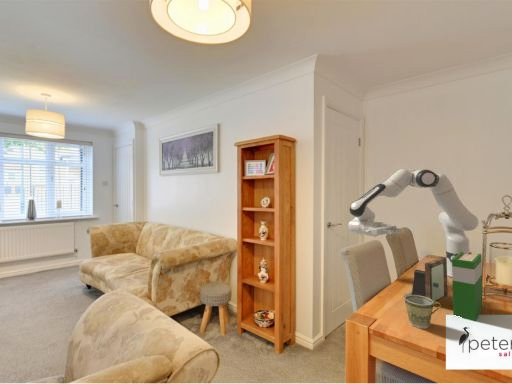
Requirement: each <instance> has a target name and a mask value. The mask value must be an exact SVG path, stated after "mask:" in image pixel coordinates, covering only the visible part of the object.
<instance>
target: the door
mask: <svg viewBox="0 0 512 384" xmlns="http://www.w3.org/2000/svg"><path fill="white" fill-rule="evenodd" d="M443 297H445V296H444V275H443V263H442V264H440V265H437V266H435V267H433V268H432V300H433V302H435V301H436V302H437V300H439V299H441V298H443Z"/></svg>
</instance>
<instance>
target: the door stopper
mask: <svg viewBox="0 0 512 384" xmlns="http://www.w3.org/2000/svg"><path fill="white" fill-rule="evenodd" d="M412 284H413V285H412V287H411V288H412V290H411V292H412V295H419V296H424V297H426V292H425V270H421V269H414V271H413V282H412Z"/></svg>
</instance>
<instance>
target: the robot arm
mask: <svg viewBox="0 0 512 384" xmlns="http://www.w3.org/2000/svg"><path fill="white" fill-rule="evenodd" d="M408 186H411V187H415V188H421V189H423V188H424V189H425V188H429V189H430V191H431V193H432V195H433V197H434V199H435V202H436V203H437V206H438V207H439V208H440V209H442V210H443V211H442V212H440V213H439V215H438V217H437V218H438V219H437V220H438V222H439V224H440V225H441V226H442V228H443V231H444V236H445V241H446V243H445V244H446V251H445V257H447V277H450V278H452V259H453V258H454V257H455V256H456V255H458V254H459V253H460V252H463V254H471V255H472V252H471V251H470V239H469V237H467V235H466V234H465V232H468V231H473V230H476V228H477V227H478V226H479V218H478V217H477V216H476V215H475V214H473V213H472V212H471V211H470V210H469V209H468V208H467V207H466V205H465V204H463V202H462V201H461V199H460V197H459V196H458V194H457V191H456V190H455V188H454V186H453V184H452V182H451V180H450V179H449V178H448V177H447V175H446V174H444V173H435V172H434V171H433V170H430V169H416V170H412V171H410V170H408V169H405V168H401V169H399V170H397V171H395V172H394V173H393V174H392V175H391V176H389V178H387V179H386V180H385V181H384V182H382V183H378V184H376V185H374V186H373V187H371V189H369V190H368V191H367V192H366V193H364V194H363V195H362V196H361V197H359V198H358V199H356V200H355V201H353V202H352V203H351V204H350V206H349V213H350V214H351V215H352V216H353V217H355V218H353V219H352V220H349V222H348V224H347V225H348V226H347V227H348V230H349V231H350V232H351V233H352V234H354V235H355V234H356V235H362V236H363V235H365V236H369V237H375V238H376V237H378V236H382V235H391V234H392V235H393V233H396V232H397V233H401V232H402V229H401V228H398V227H397V226H396V225H395V224H389V223H384V222H381V221H379V222H378V221H375V218H376V214H375V213H374V211H373V210H372V209H371V207H370V208H369V207H368V205H369V204H370V203H372V202H373V201H374V200H375V199H377V198H378V197H381V196H383V197H386V198H395V197H397V196H399V195H400V194H401V193H402V192H403V191H404V190H405V189H406V188H407V187H408Z"/></svg>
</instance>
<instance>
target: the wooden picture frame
mask: <svg viewBox="0 0 512 384" xmlns="http://www.w3.org/2000/svg"><path fill="white" fill-rule="evenodd" d="M442 263H443V275H444V296H443V297H448V276H447V257H446V256H441V257H438V258H436V259H433V260H430V261H428V262H426V263H424V271H425V292H426V297H427V298H429V299H431V300H432V268H433V267H435V266H437V265H440V264H442Z"/></svg>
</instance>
